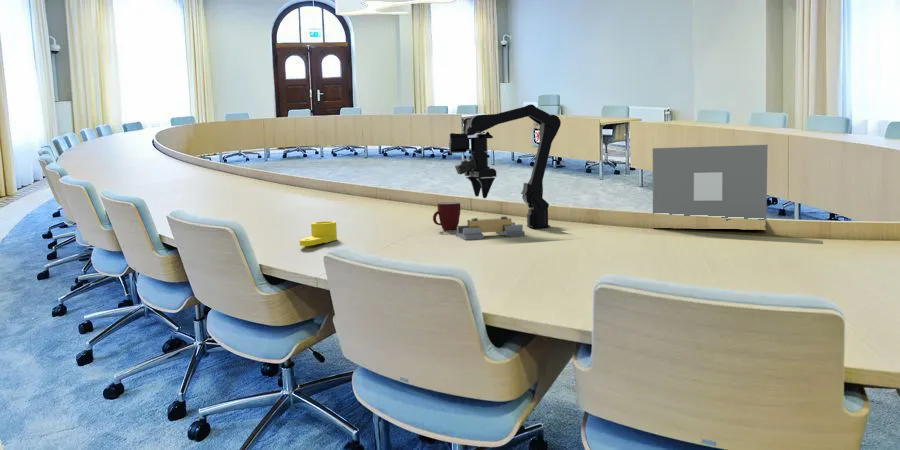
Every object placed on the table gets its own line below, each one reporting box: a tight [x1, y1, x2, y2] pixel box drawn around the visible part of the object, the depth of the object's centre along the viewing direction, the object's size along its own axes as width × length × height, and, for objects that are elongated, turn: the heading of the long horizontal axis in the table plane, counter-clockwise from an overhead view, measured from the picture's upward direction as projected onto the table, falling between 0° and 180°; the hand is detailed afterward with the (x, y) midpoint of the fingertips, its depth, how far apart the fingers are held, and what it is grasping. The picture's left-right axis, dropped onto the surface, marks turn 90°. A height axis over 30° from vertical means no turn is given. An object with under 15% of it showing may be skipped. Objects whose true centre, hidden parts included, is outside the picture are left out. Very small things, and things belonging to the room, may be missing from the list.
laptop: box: [652, 144, 769, 221], centre depth 237 cm, size 35×26×27 cm
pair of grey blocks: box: [455, 221, 526, 241], centre depth 229 cm, size 20×12×4 cm, turn 104°
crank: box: [299, 220, 338, 247], centre depth 231 cm, size 18×8×6 cm, turn 161°
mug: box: [432, 201, 461, 231], centre depth 244 cm, size 10×8×10 cm
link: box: [466, 215, 513, 234], centre depth 229 cm, size 14×4×5 cm, turn 100°
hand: (480, 197), depth 240 cm, fingers open, 9 cm apart
